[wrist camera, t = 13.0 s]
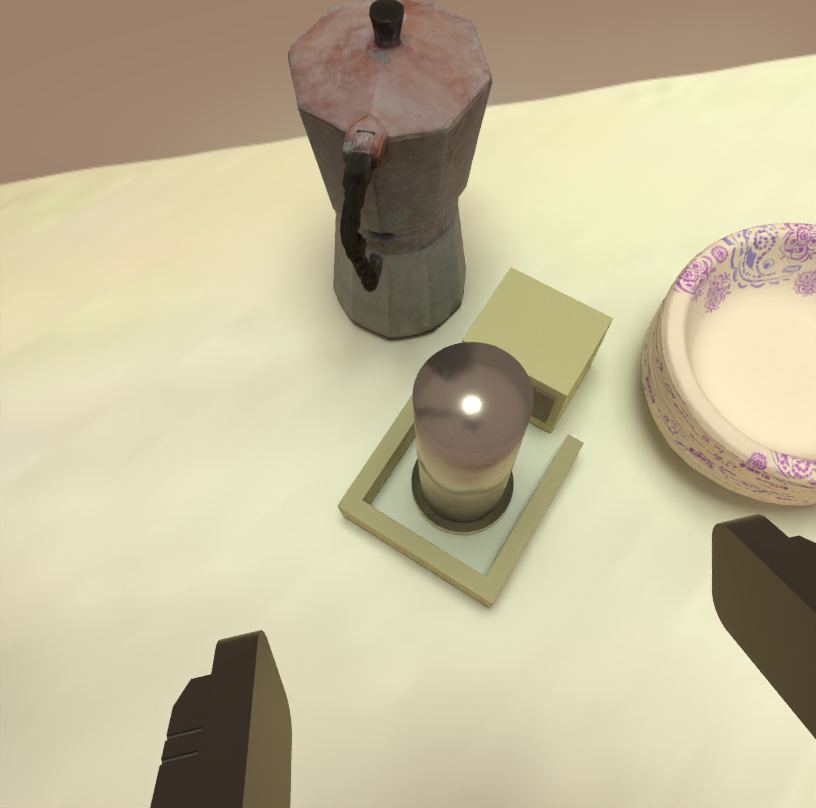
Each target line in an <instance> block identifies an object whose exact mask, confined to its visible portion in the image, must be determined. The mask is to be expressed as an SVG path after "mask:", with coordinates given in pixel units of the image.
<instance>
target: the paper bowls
mask: <svg viewBox="0 0 816 808" xmlns="http://www.w3.org/2000/svg"><path fill="white" fill-rule="evenodd" d="M641 376H642V385H643V390H644V395H645V397H646V400H647V404H648V407H649V410H650V412H651V414H652V417H653V419H654V421H655V423H656V425H657V427H658V428H659V430H660V431H661V433H662V435H663V436H664V438H665V440H666V441H667V442H668V444H669V446H670V447H671V448H672V449H673V450H674V451H675V452H676V453H677V454H678V455H679V456H680V457H681V458H682V459H683V460H684V461H685V462H686V463H687V464H688V465H690V466H691V467H692V468H693V469H695V470H696V471H698V472H699V473H701V474H702V475H705V476H706V477H708V478H709V479H711V480H712V481H714V482H716V483H717V484H719V485H721V486H722V487H724V488H726V489H728V490H730V491H733V492H736V493H739V494H741V495H743V496H748V497H751V498H752V499H755V500H759V501H764V502H768V503H775V504H780V505H794V506H806V505H813V504H816V225H812V224H802V223H781V224H768V225H762V226H757V227H753V228H749V229H745V230H742V231H739V232H736V233H734V234H731V235H729V236H726V237H724V238H723V239H720V240H718V241H717V242H715V243H713V244H712V245H710V246H709V247H707V248H706V249H704V250H703V251H702V252H700V253H699V254H698V255H696V256H695V258H693V259H692V260H691V261H690V263H688V264H687V265H686V267H685V268H684V269H683V270H682V272H681V273H680V274H679V275H678V277H677V278H676V280H675V282H674V283H673V284H672V286H671V288H670V290H669V292H668V294H667V295H666V297H665V298H664V300H663V302H662V303H661V305H660V307H659V308H658V310H657V312H656V314H655V316H654V318H653V320H652V322H651V323H650V326H649V329H648V331H647V334H646V337H645V341H644V345H643V350H642V356H641Z"/></svg>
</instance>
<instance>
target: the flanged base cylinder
mask: <svg viewBox="0 0 816 808" xmlns="http://www.w3.org/2000/svg"><path fill="white" fill-rule="evenodd" d="M533 402H534V395H533V388H532V384H531V381H530V379H529V376H528V374H527V372H526V371H525V369H524V368H523V366H522V365H521V364H520V363H519V362H518V361H517V360H516V359H515V358H514V357H513V356H512V355H510V354H509V353H508V352H506V351H504V350H503V349H500V348H498V347H496V346H493V345H490V344H486V343H480V342H464V343H458V344H454V345H451V346H448V347H446V348H444V349H442V350H440V351H438V352H437V353H435V354H434V355H433V356H431V357H430V358H429V359H428V360H427V361H426V363H425V364H424V365H423V366H422V368H421V369H420V371H419V373H418V375H417V377H416V380H415V383H414V387H413V410H414V421H415V432H416V443H417V455H418V459H417V461H416V463H415V466H414V469H413V473H412V491H413V496H414V500H415V503H416V505H417V507H418V509H419V511H420V512H421V514H422V515H423V516H424V517H425V518H426V519H427V520H428V521H429V522H430V523H431V524H432V525H434V526H435V527H437V528H439V529H441V530H443V531H446V532H448V533H453V534H460V535H464V534H473V533H477V532H481V531H483V530H485V529H487V528H489V527H490V526H492V525H493V524H495V523H496V522H497V521H498V520H499V519H500V518H501V517H502V515H503V514H504V512H505V511H506V509H507V507H508V505H509V503H510V500H511V497H512V493H513V474H512V468H513V465H514V462H515V459H516V456H517V454H518V451H519V448H520V445H521V442H522V439H523V436H524V434H525V431H526V428H527V425H528V422H529V419H530V416H531V413H532V409H533Z"/></svg>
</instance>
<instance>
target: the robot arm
mask: <svg viewBox="0 0 816 808" xmlns="http://www.w3.org/2000/svg"><path fill="white" fill-rule="evenodd" d="M712 596H713V601H714V605H715V609H716V611H717V614H718V616H719V618H720V620H721V622H722V624H723V626H724V627H725V629H726V630H727V631H728V632H729V634H730V635H731V636H732V637H733V639H734V640H735V641H736V642H737V643H738V645H739V646H740V647H741V648H742V650H743V651H744V652H745V653H746V654H747V656H748V657H749V658H750V659H751V661H752V662H753V663H754V664H755V665H756V667H757V668H758V669H759V670H760V672H761V673H762V674H763V675H764V676H765V678H766V679H767V680H768V681H769V683H770V684H771V685H772V686H773V687H774V689H775V690H776V691H777V692H778V694H779V695H780V696H781V697H782V698H783V700H784V701H785V702H786V703H787V705H788V706H789V707H790V708H791V709H792V711H793V712H794V713H795V714H796V716H797V717H798V718H799V719H800V720H801V722H802V723H803V724H804V725H805V727H806V728H807V729H808V730H809V731H810V733H811V734H812V735H813V736H814V738H815V739H816V543H814V542H812V541H810V540H808V539H805V538H803V537H801V536H795V537H791V538H789V537H787V536H786V535H785V534H784V533H783V532H782V531H781V530H779V529H778V528H777V527H776V526H775V525H774V524H773V523H771V522H770V521H769V520H768V519H767V518H765V517H764V516H762V515H752V516H748V517H744V518H740V519H736V520H731V521H727V522H723V523H719V524H716V525H715V526H714V528H713V532H712ZM291 749H292V726H291V716H290V710H289V705H288V700H287V696H286V693H285V690H284V687H283V684H282V681H281V678H280V675H279V672H278V669H277V666H276V663H275V660H274V657H273V654H272V651H271V649H270V646H269V643H268V640H267V637H266V635H265V633H264V632H263V631H262V630H260V631H256V632H251V633H247V634H243V635H239V636H234V637H230V638H226V639H222V640H219V641H218V642H217V645H216V650H215V655H214V661H213V667H212V673H211V674H210V675H206V676H202V677H198V678H194V679H191V680H190V682H189V683H188V685H187V686H186V688H185V689H184V691H183V692H182V694H181V695H180V697H179V698H178V700H177V701H176V703H175V704H174V706H173V709H172V714H171V718H170V722H169V727H168V731H167V741H165V745H164V749H163V754H162V758H161V760H162V765H160V767H159V771H158V776H157V780H156V785H155V789H154V794H153V798H152V802H151V807H150V808H290V792H291Z"/></svg>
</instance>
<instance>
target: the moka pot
mask: <svg viewBox="0 0 816 808" xmlns="http://www.w3.org/2000/svg"><path fill="white" fill-rule="evenodd" d="M288 61H289V65H290V70H291V74H292V79H293V84H294V88H295V94H296V99H297V105H298V110H299V113H300V116H301V118H302V121H303V124H304V127H305V130H306V132H307V135H308V138H309V141H310V144H311V147H312V149H313V152H314V155H315V158H316V161H317V163H318V166H319V169H320V172H321V175H322V178H323V181H324V184H325V186H326V189H327V192H328V195H329V198H330V201H331V204H332V206H333V209H334V210H335V212H336V231H335V259H334V290H335V293H336V295H337V297H338V299H339V301H340V303H341V305H342V307H343V308H344V310H345V311H346V313H347V314H348V316H349V317H350V318H351V319H352V320H353V321H354V322H356V323H357V324H359V325H360V326H362V327H364V328H367V329H369V330H371V331H373V332H375V333H378V334H381V335H383V336H385V337H387V338H394V337H405V336H412V335H416V334H421V333H423V332H426V331H428V330H431V329H434V328H435V327H437V326H439V325H440V324H441V323H442V322H443V321H444V320H446V319H447V318H448V317H449V316H450V315H451V314H452V313H453V312H454V311H455V310H456V309H457V307H459V306H460V304H461V302H462V298H463V293H464V281H465V271H466V266H465V258H464V251H463V241H462V235H461V223H460V218H459V209H458V197H459V196H460V195H461V193H462V192H463V190H464V189H465V187H466V185H467V181H468V178H469V173H470V169H471V164H472V160H473V156H474V153H475V149H476V144H477V140H478V136H479V132H480V128H481V124H482V120H483V116H484V113H485V109H486V104H487V101H488V97H489V93H490V89H491V85H492V78H491V73H490V70H489V67H488V64H487V62H486V59H485V56H484V53H483V50H482V47H481V44H480V41H479V38H478V35H477V31H476V27H475V26H474V24H473V22H472V21H470V20H467V19H465V18H463V17H461V16H458V15H456V14H454V13H452V12H450V11H447V10H445V9H443V8H441V7H439V6H437V5H435V2H434V0H364V1H358V2H350V3H344V4H338V5H335V6H334V7H333V8H331V9H330V10H329V11H328V12H327V13H326V14H325V15H324V16H323V17H322V18H320V19H319V20H318V21H317V22H316V23H315V25H313V27H312V28H311V29H309V30H308V31H307V32H306V33H305V34H304V35H303V36H302V37H301V38H299V39H298V40H297V41H296V42H295V43H294V44H293V45H292V46H291V48H290V50H289V54H288Z"/></svg>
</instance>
